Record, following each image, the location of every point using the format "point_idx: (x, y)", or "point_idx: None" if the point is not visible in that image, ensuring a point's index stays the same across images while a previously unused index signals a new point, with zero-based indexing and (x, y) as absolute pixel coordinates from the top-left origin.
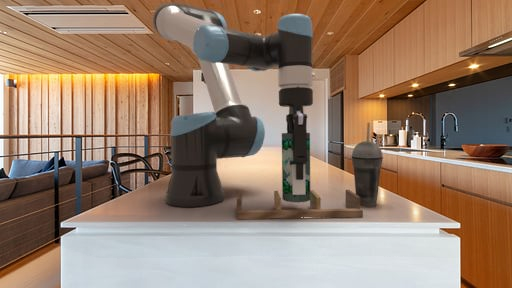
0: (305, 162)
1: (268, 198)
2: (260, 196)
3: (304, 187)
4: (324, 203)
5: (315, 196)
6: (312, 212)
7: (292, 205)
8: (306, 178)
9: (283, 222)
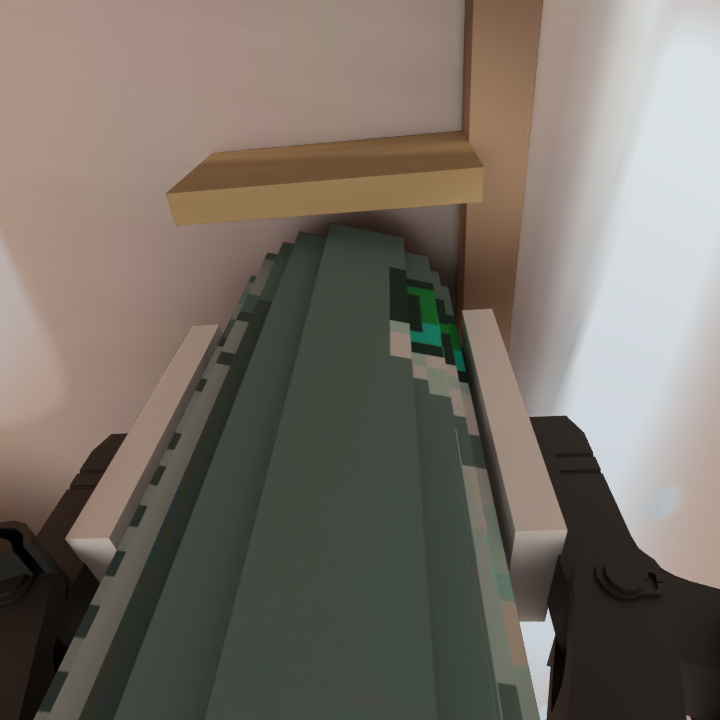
0: (656, 567)
1: (77, 414)
2: (46, 449)
3: (501, 349)
4: (76, 31)
5: (423, 205)
6: (521, 210)
7: (207, 294)
8: (444, 371)
9: (555, 355)
